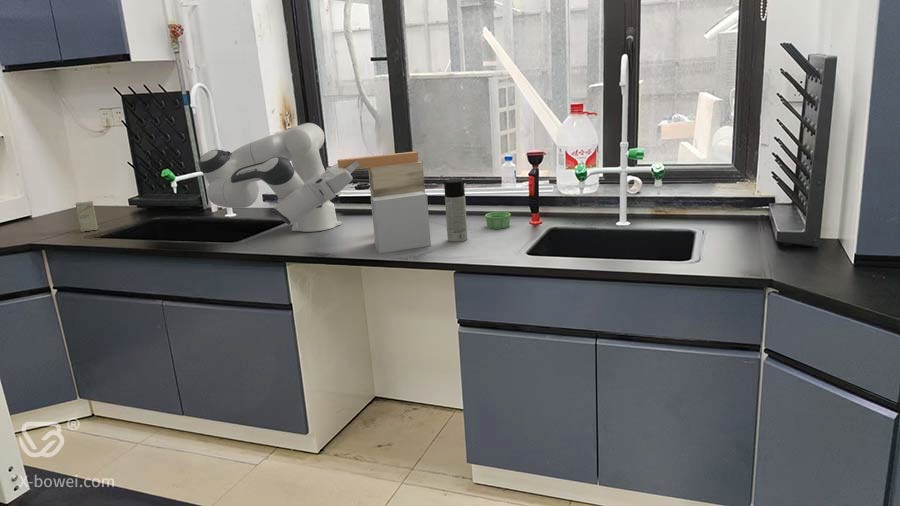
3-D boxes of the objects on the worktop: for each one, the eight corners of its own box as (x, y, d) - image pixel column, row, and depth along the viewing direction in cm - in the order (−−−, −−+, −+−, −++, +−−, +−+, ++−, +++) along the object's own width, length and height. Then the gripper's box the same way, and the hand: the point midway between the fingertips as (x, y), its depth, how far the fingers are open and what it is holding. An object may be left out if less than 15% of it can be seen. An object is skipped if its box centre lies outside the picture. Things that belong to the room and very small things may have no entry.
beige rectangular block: (375, 242, 221) (367, 165, 214) (423, 235, 226) (417, 160, 219) (379, 246, 216) (371, 167, 209) (428, 238, 221) (422, 162, 214)
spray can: (470, 237, 219) (466, 178, 213) (464, 242, 213) (460, 182, 207) (451, 237, 221) (447, 178, 216) (444, 242, 215) (440, 182, 210)
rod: (338, 169, 210) (337, 159, 209) (415, 161, 218) (415, 151, 217) (340, 170, 207) (339, 160, 206) (418, 162, 215) (417, 152, 214)
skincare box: (81, 233, 269) (74, 204, 266) (82, 231, 273) (75, 202, 270) (98, 230, 272) (91, 202, 268) (98, 228, 276) (92, 200, 272)
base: (375, 249, 212) (370, 197, 208) (425, 241, 218) (421, 191, 213) (380, 253, 207) (374, 200, 202) (430, 245, 212) (426, 194, 207)
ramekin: (497, 230, 226) (497, 218, 224) (480, 227, 233) (479, 215, 231) (516, 225, 231) (515, 213, 230) (499, 222, 238) (498, 210, 237)
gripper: (322, 190, 219) (355, 166, 221) (332, 200, 200) (368, 173, 202) (311, 175, 216) (344, 151, 218) (320, 184, 198) (356, 157, 199)
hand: (356, 162), depth 210 cm, fingers closed on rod, 3 cm apart
